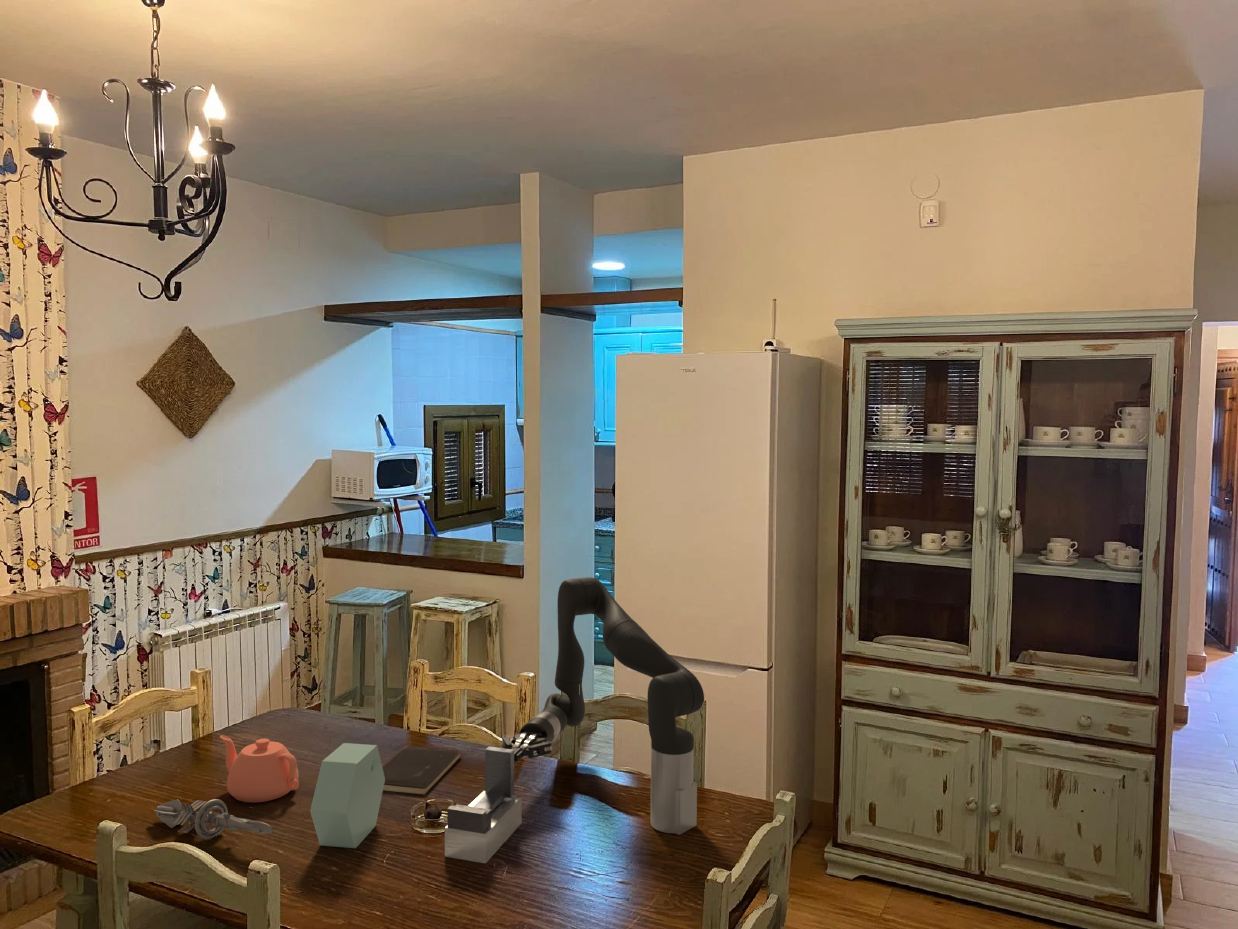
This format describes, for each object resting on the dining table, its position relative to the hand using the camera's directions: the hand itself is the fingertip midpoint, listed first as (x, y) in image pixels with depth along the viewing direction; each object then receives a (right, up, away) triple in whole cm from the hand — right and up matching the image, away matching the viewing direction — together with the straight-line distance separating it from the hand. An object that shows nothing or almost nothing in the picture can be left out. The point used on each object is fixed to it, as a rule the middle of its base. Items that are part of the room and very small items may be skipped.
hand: (511, 758), depth 199 cm
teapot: (-60, -11, +10) cm, 62 cm away
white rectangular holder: (-4, -13, -12) cm, 18 cm away
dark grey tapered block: (-3, -6, -10) cm, 12 cm away
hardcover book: (-27, -11, +22) cm, 36 cm away
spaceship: (-61, -13, -12) cm, 64 cm away
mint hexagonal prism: (-33, -13, -11) cm, 37 cm away
